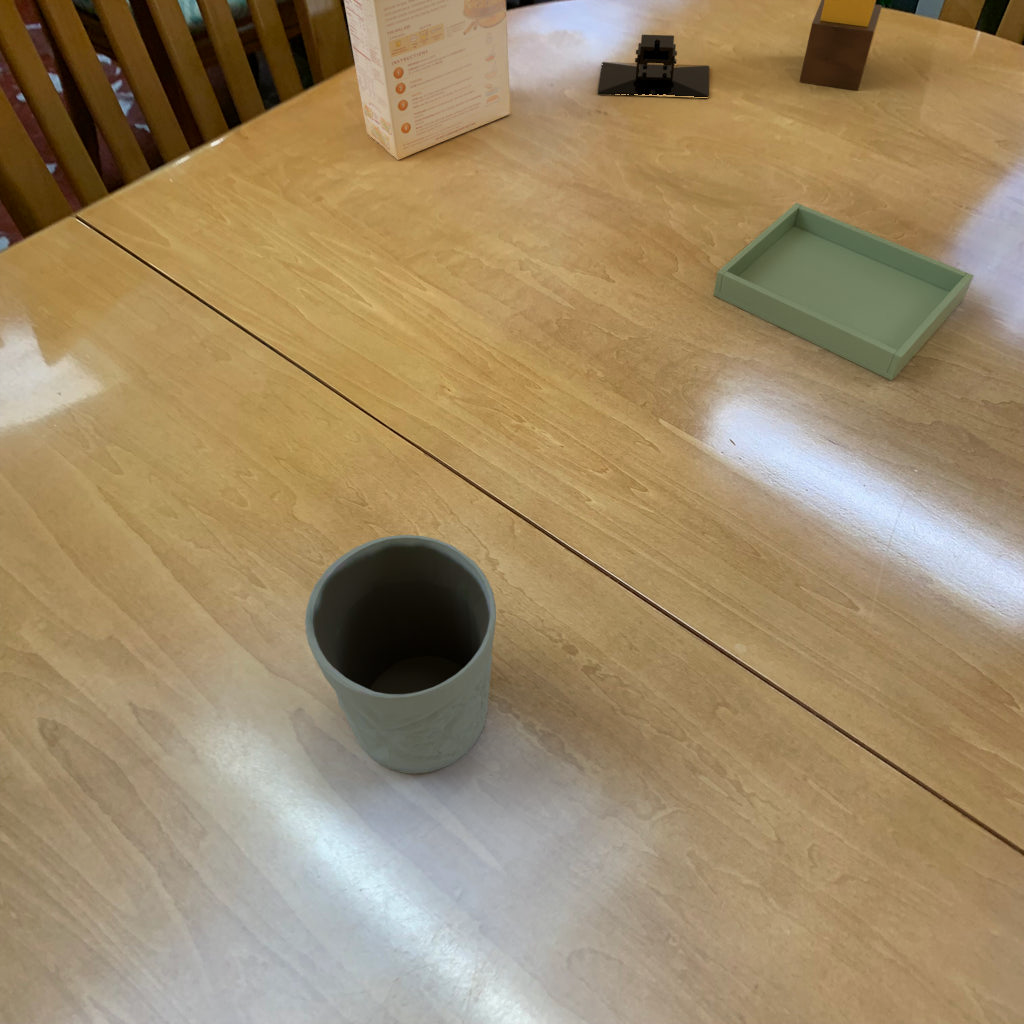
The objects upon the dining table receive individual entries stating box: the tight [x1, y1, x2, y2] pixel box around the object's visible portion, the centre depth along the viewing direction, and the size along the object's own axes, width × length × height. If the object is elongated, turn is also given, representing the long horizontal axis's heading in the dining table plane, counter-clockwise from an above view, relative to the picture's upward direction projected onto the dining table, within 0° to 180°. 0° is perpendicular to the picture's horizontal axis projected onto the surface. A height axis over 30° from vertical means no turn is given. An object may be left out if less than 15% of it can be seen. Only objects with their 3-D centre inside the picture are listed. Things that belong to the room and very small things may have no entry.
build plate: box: [597, 34, 710, 97], centre depth 104 cm, size 12×7×5 cm, turn 82°
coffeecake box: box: [343, 0, 512, 161], centre depth 94 cm, size 15×7×20 cm, turn 126°
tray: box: [713, 202, 975, 381], centre depth 81 cm, size 17×13×3 cm
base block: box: [799, 0, 883, 91], centre depth 103 cm, size 6×6×6 cm
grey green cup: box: [304, 534, 497, 774], centre depth 54 cm, size 10×10×12 cm
